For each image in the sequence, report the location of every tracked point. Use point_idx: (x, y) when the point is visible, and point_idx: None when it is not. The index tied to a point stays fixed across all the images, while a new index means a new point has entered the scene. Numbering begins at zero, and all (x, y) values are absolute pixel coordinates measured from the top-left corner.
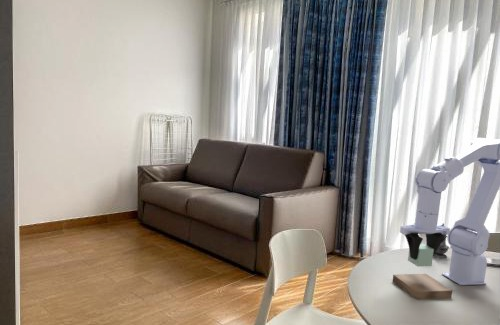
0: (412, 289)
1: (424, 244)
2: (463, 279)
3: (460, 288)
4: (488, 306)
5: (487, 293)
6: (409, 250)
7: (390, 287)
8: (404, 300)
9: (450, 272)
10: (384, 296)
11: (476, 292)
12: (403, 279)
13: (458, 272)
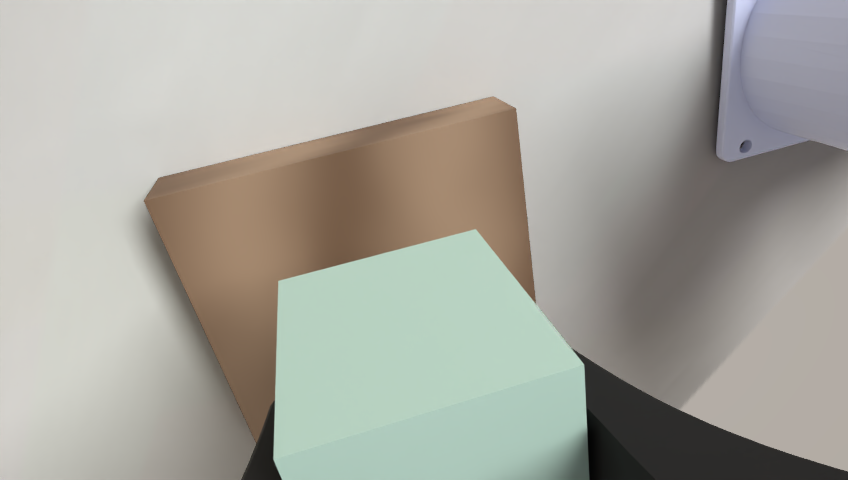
0: (251, 424)
1: (577, 399)
2: (786, 130)
3: (680, 203)
4: (662, 397)
5: (795, 242)
6: (278, 378)
7: (110, 305)
8: (176, 465)
9: (778, 29)
10: (30, 454)
11: (738, 243)
12: (224, 292)
13: (806, 118)
